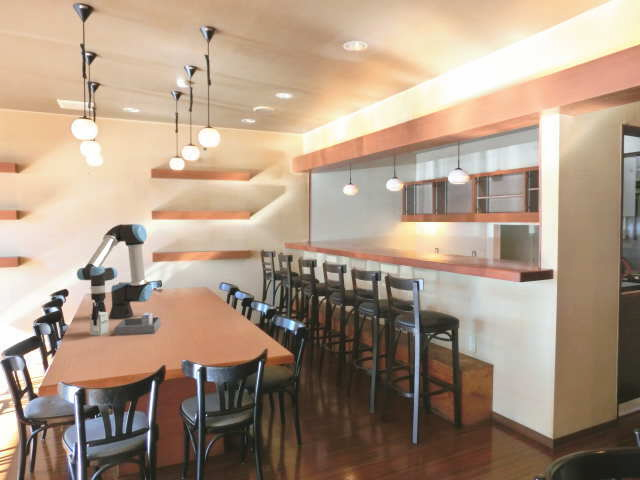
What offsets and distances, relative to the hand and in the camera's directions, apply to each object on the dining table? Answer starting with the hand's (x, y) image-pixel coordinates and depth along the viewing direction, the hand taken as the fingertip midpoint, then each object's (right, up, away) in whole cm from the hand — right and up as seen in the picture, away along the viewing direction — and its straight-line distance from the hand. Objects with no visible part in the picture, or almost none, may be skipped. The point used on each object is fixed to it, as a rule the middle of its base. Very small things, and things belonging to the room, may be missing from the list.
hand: (99, 328), depth 262 cm
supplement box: (0, -4, 0) cm, 4 cm away
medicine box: (+24, -2, +10) cm, 27 cm away
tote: (+20, -3, +9) cm, 22 cm away
